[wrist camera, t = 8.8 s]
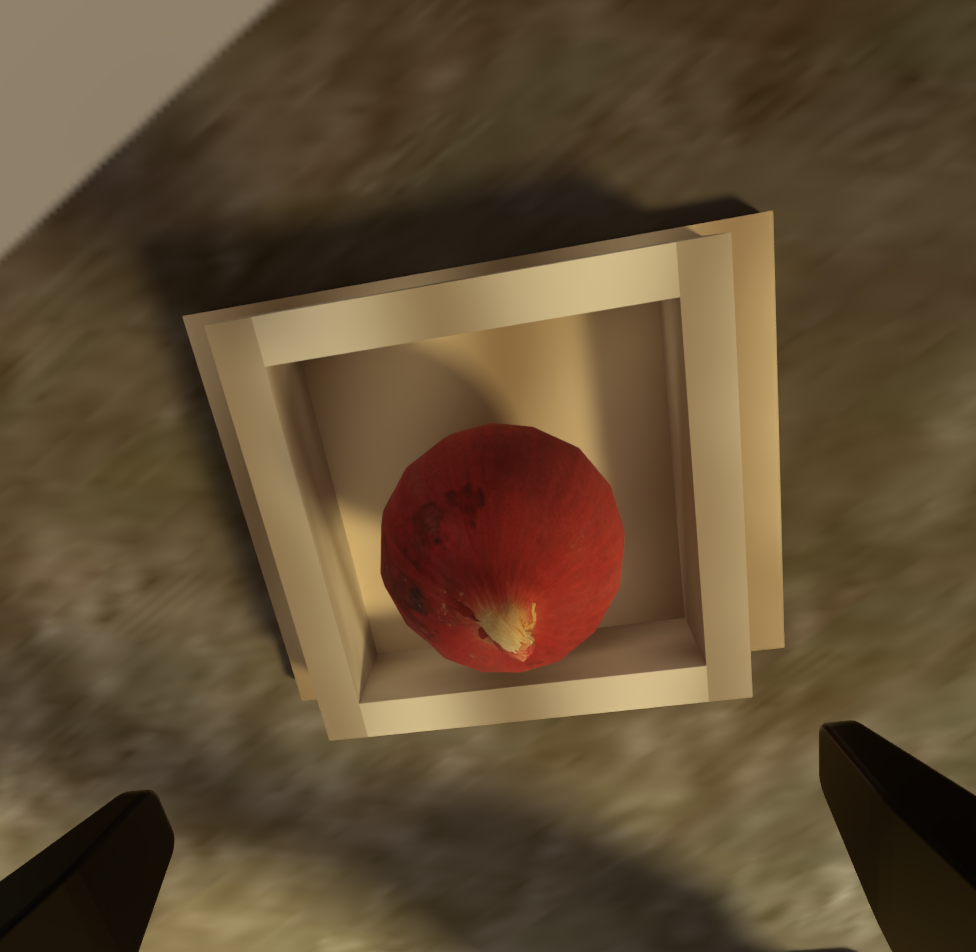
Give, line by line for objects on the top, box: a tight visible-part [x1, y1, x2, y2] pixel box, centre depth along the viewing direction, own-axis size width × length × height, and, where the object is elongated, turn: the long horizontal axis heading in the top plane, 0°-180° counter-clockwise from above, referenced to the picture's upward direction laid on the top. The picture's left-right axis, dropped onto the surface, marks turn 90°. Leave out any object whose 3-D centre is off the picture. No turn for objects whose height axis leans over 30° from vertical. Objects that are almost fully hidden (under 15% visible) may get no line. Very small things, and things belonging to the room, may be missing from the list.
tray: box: [182, 211, 784, 741], centre depth 18 cm, size 16×13×3 cm
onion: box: [380, 423, 625, 672], centre depth 15 cm, size 6×6×8 cm
